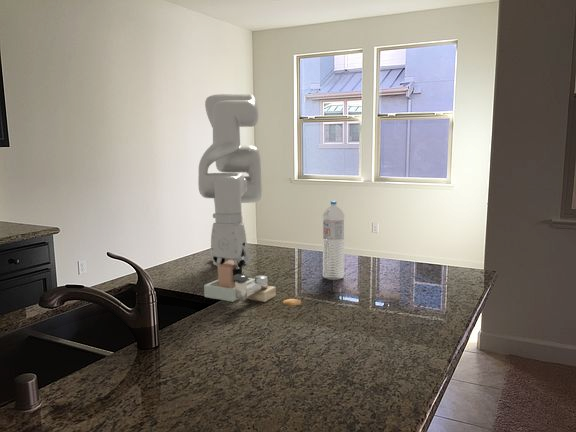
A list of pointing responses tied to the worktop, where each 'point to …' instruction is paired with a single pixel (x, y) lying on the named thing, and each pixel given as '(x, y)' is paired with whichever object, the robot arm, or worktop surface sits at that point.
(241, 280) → the crank
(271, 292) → the crank base
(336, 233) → the water bottle
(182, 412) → the worktop surface
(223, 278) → the block
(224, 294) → the tray
